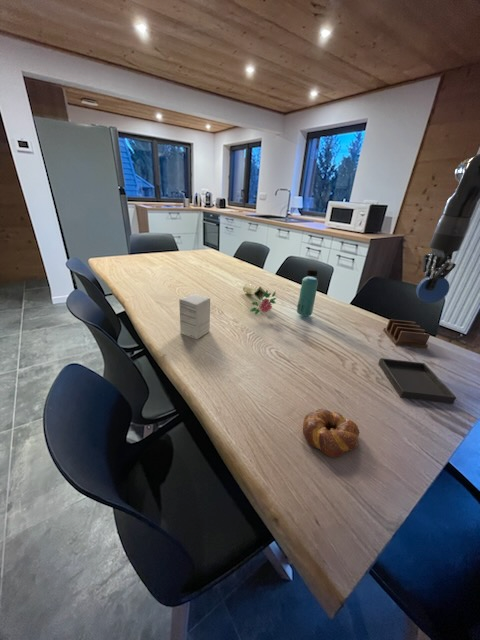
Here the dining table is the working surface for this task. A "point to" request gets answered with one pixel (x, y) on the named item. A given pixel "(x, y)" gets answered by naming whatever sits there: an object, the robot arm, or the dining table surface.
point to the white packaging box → (194, 315)
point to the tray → (415, 381)
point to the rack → (406, 333)
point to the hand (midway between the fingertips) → (427, 288)
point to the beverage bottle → (307, 293)
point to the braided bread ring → (330, 432)
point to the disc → (436, 293)
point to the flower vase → (259, 294)
